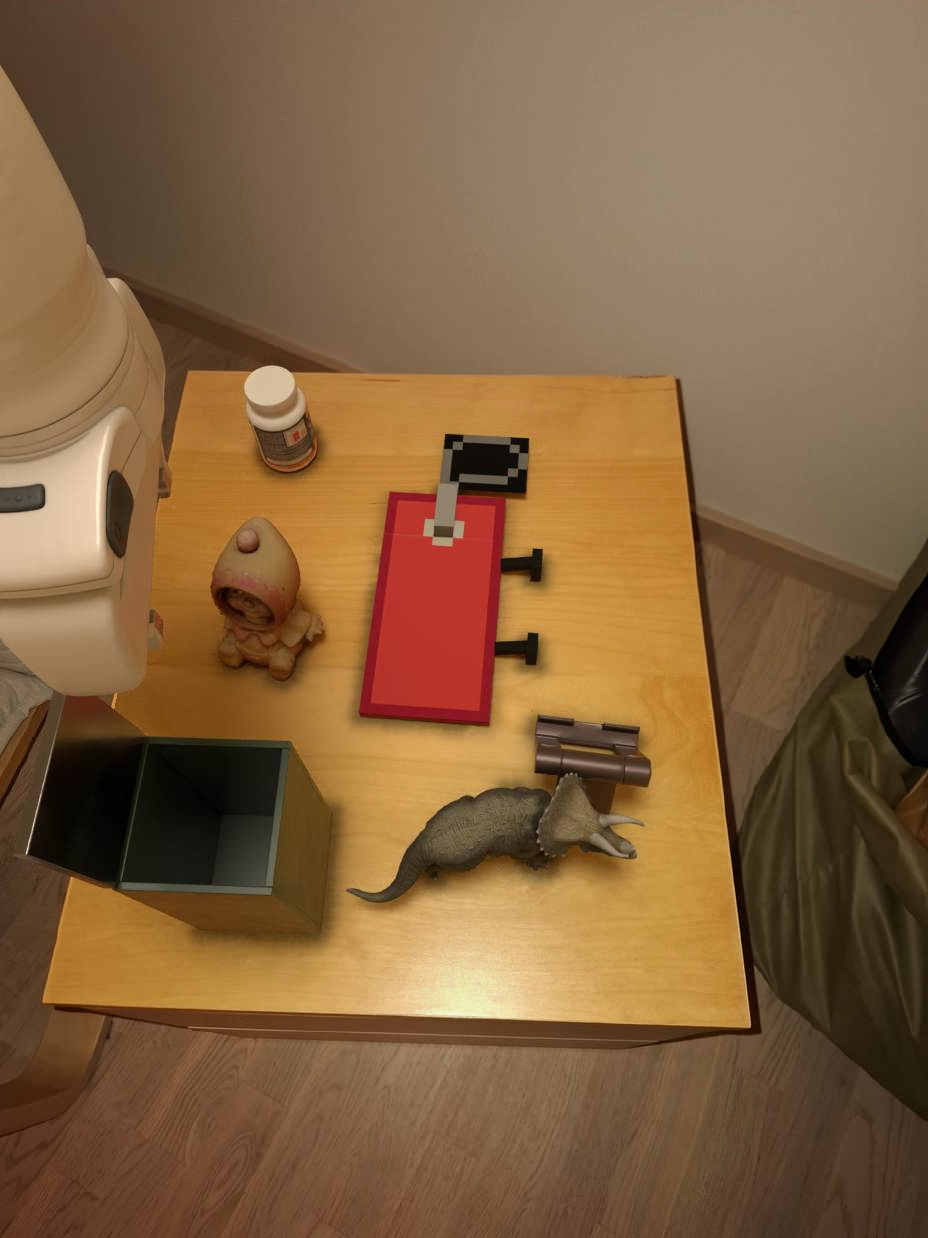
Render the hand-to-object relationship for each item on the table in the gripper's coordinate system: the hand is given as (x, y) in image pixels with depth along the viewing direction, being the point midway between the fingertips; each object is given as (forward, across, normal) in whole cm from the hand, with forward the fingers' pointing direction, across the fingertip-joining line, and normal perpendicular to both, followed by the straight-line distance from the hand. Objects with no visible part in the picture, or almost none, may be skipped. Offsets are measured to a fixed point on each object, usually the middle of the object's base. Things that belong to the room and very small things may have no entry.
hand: (153, 560), depth 49 cm
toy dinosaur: (+31, +11, +18) cm, 37 cm away
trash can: (+31, +11, 0) cm, 33 cm away
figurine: (+31, -10, 0) cm, 33 cm away
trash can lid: (+6, +11, -5) cm, 13 cm away
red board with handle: (+31, -14, +18) cm, 39 cm away
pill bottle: (+31, -30, +2) cm, 43 cm away
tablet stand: (+31, +6, +27) cm, 41 cm away
